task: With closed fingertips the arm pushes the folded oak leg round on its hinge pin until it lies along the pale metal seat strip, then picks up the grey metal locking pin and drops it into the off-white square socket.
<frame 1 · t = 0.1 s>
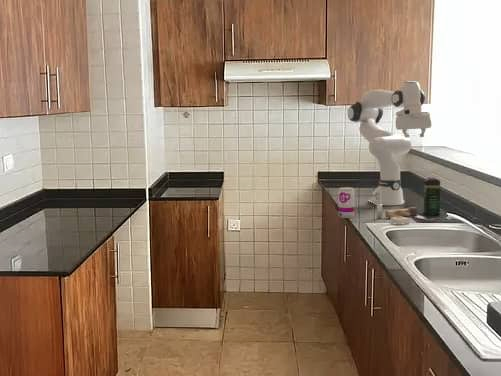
hand: (414, 137, 307), 39 cm above the counter, tool pointing down, fingers open, 8 cm apart
hinge plate: (412, 215, 294), on the counter
locking pin: (379, 218, 290), on the counter
oak leg: (401, 212, 292), point 2 cm above the counter, hinge at 0.0°
supplement can: (346, 217, 298), on the counter
coffee jar: (432, 213, 298), on the counter
socket: (399, 223, 276), on the counter
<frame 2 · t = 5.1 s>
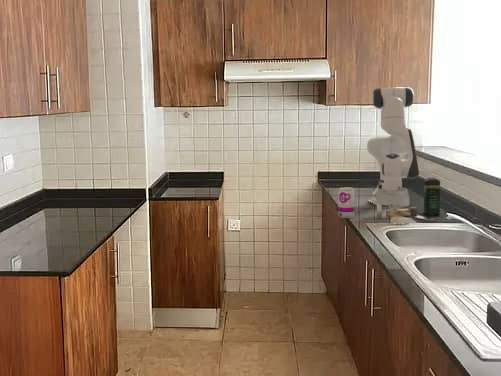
hand: (393, 213, 293), 2 cm above the counter, tool pointing down, fingers closed
oak leg: (401, 212, 292), point 2 cm above the counter, hinge at 2.4°, touching gripper
everything else where it was.
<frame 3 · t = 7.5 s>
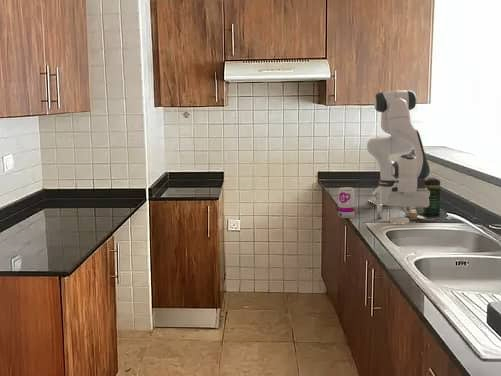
hand: (407, 215, 285), 2 cm above the counter, tool pointing down, fingers closed
oak leg: (413, 213, 288), point 2 cm above the counter, hinge at 57.6°, touching gripper
everything else where it was.
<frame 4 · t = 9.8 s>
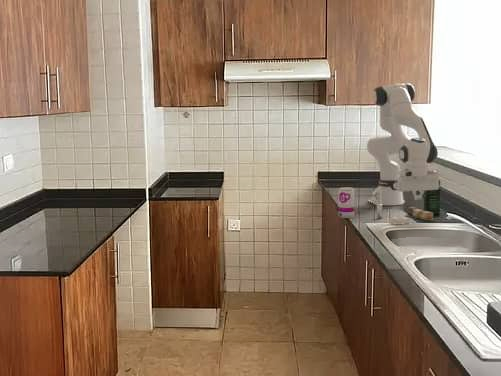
hand: (417, 199, 283), 10 cm above the counter, tool pointing down, fingers closed
oak leg: (419, 213, 288), point 2 cm above the counter, hinge at 89.1°
everything else where it was.
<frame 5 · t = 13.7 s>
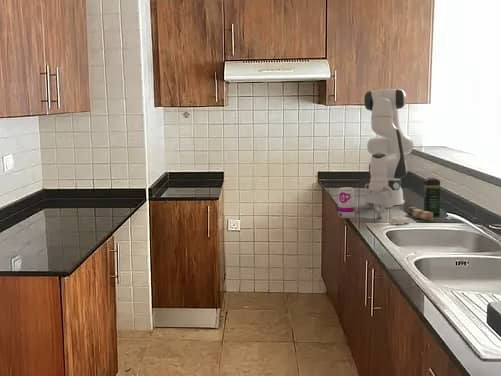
hand: (379, 213, 290), 2 cm above the counter, tool pointing down, fingers closed on locking pin, 3 cm apart
locking pin: (379, 218, 290), on the counter, touching gripper
everything else where it was.
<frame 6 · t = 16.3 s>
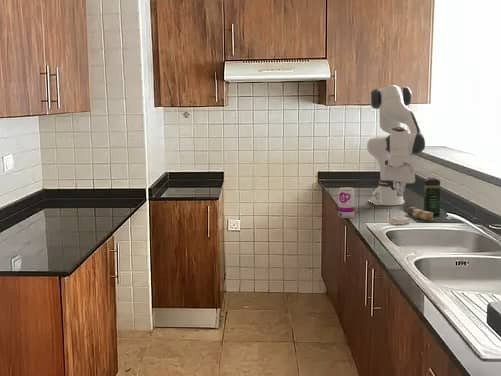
hand: (399, 191, 274), 15 cm above the counter, tool pointing down, fingers closed on locking pin, 3 cm apart
locking pin: (399, 195, 274), point 13 cm above the counter, touching gripper
everything else where it was.
when the fingers open (3 cm above the counter, at t = 19.1 s): locking pin drops 1 cm, resting in socket.
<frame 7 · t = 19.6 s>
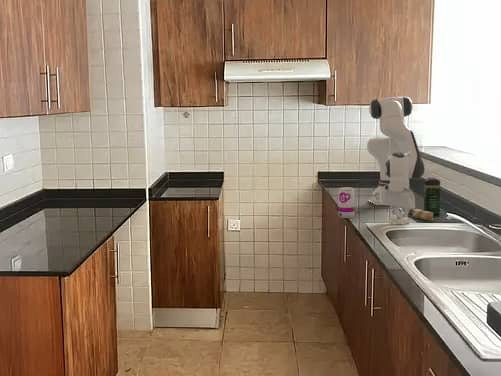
hand: (399, 216, 275), 3 cm above the counter, tool pointing down, fingers open, 8 cm apart
locking pin: (399, 223, 276), resting in socket
everything else where it was.
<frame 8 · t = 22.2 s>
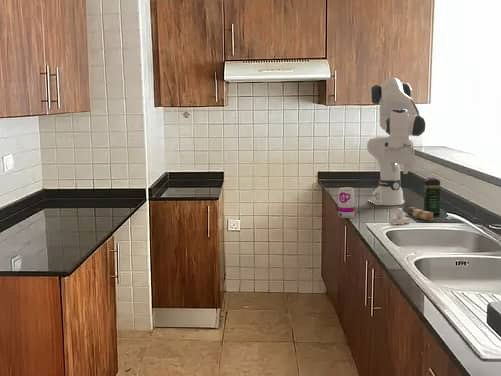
hand: (399, 173, 273), 24 cm above the counter, tool pointing down, fingers open, 8 cm apart
nothing on the counter moved.
at the end: oak leg at +89° (first picture: +0°); locking pin 0.1 cm off-centre on the socket, point 0.0 cm above the socket's base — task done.
